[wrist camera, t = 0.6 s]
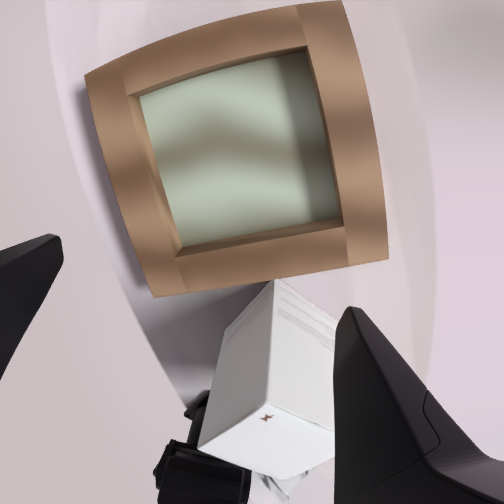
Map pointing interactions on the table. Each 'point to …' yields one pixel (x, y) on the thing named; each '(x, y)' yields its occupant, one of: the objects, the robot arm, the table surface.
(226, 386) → the supplement box
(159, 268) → the pocket board
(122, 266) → the table surface
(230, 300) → the table surface
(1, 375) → the robot arm
